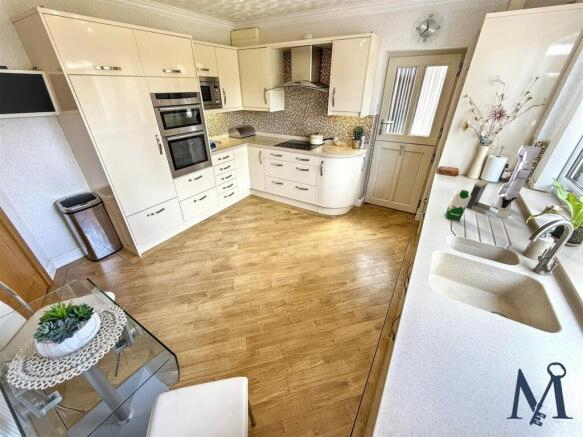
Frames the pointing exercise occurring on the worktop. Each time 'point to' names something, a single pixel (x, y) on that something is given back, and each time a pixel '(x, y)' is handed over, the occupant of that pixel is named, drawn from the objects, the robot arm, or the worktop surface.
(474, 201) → the grey block
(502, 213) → the syrup box
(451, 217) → the milk carton
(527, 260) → the worktop surface
